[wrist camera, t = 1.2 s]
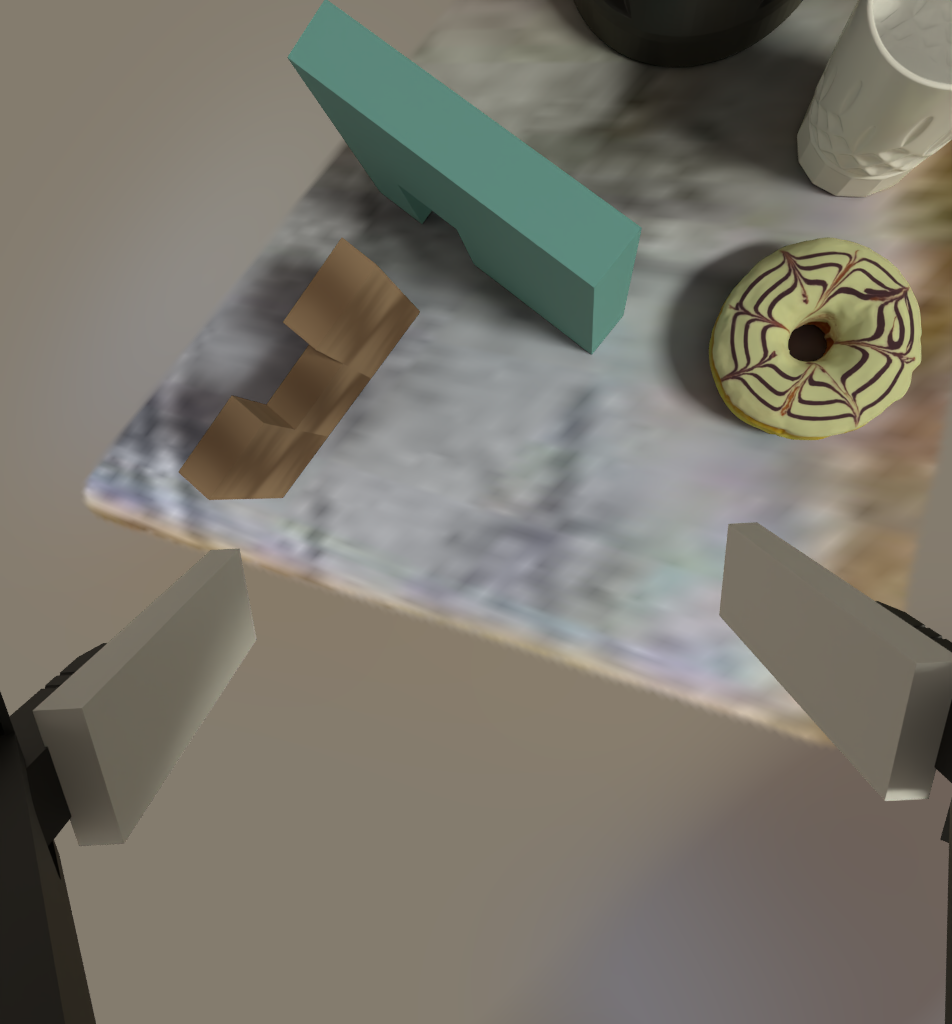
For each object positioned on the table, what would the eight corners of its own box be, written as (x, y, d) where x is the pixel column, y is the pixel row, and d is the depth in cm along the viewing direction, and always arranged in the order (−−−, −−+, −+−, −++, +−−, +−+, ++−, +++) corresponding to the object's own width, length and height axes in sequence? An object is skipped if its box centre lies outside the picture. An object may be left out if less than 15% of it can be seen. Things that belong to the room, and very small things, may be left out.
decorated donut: (930, 291, 32) (975, 265, 29) (849, 467, 33) (882, 464, 30) (749, 236, 34) (769, 205, 30) (677, 405, 35) (688, 395, 31)
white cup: (853, 238, 33) (968, 130, 23) (754, 147, 34) (823, 5, 24) (970, 129, 31) (1145, -34, 22) (864, 37, 32) (986, -160, 22)
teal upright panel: (623, 315, 35) (641, 227, 24) (591, 354, 36) (594, 287, 24) (407, 153, 37) (325, -2, 26) (380, 191, 38) (287, 57, 26)
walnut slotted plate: (392, 289, 38) (341, 237, 30) (420, 311, 38) (376, 264, 30) (257, 475, 40) (178, 472, 33) (282, 497, 40) (208, 499, 32)
